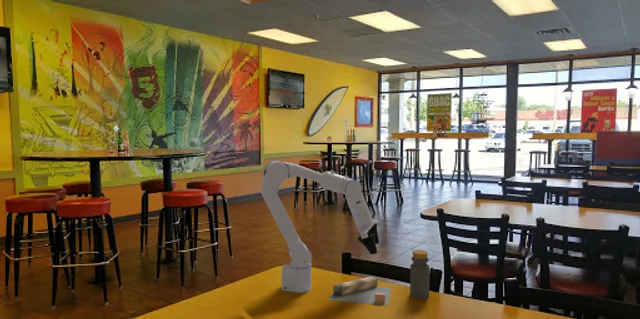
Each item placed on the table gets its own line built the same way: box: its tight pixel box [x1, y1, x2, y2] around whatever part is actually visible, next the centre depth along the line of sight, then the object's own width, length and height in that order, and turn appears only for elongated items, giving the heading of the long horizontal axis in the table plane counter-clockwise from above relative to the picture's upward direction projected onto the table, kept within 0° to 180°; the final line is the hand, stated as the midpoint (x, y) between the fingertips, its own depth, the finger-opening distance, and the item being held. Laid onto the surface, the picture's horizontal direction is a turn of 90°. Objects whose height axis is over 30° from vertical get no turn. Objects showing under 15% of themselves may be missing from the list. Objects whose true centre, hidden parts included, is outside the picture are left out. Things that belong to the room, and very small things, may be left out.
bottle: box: [409, 249, 431, 300], centre depth 136 cm, size 6×6×15 cm
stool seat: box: [328, 286, 392, 306], centre depth 138 cm, size 18×14×1 cm
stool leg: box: [332, 275, 378, 295], centre depth 141 cm, size 16×3×2 cm, turn 121°
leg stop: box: [375, 292, 385, 303], centre depth 132 cm, size 3×2×2 cm, turn 76°
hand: (375, 248), depth 147 cm, fingers open, 7 cm apart
